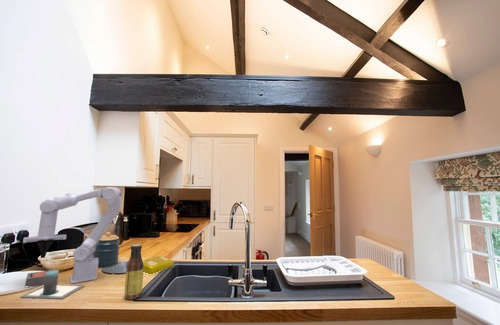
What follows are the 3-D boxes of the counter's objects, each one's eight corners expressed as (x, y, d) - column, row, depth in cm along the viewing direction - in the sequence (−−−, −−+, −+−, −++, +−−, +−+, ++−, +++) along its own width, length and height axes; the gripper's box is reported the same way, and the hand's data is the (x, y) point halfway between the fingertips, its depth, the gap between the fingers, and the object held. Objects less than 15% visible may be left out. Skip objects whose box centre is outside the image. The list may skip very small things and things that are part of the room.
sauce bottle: (144, 295, 92) (149, 244, 95) (132, 301, 87) (137, 247, 89) (132, 292, 95) (137, 242, 97) (119, 298, 89) (125, 245, 91)
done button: (46, 277, 104) (47, 270, 104) (45, 281, 100) (46, 273, 100) (31, 280, 101) (32, 272, 101) (30, 283, 97) (31, 276, 97)
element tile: (174, 269, 126) (175, 260, 126) (149, 276, 113) (150, 266, 114) (158, 263, 134) (159, 255, 135) (133, 270, 122) (134, 260, 122)
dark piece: (56, 290, 93) (58, 269, 94) (55, 293, 90) (58, 272, 91) (42, 292, 90) (45, 271, 91) (42, 296, 87) (45, 274, 88)
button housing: (50, 278, 106) (51, 270, 106) (50, 283, 100) (51, 275, 100) (26, 281, 101) (27, 273, 101) (24, 287, 95) (26, 279, 95)
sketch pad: (19, 297, 86) (20, 296, 86) (47, 285, 98) (47, 283, 98) (62, 299, 86) (62, 297, 86) (84, 286, 98) (84, 285, 98)
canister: (113, 267, 123) (116, 233, 125) (86, 268, 120) (90, 233, 122) (121, 260, 135) (124, 230, 138) (96, 261, 133) (100, 229, 135)
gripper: (24, 228, 96) (19, 262, 95) (68, 226, 106) (64, 257, 104) (26, 226, 102) (20, 258, 100) (67, 224, 111) (63, 253, 109)
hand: (42, 257), depth 102 cm, fingers closed
